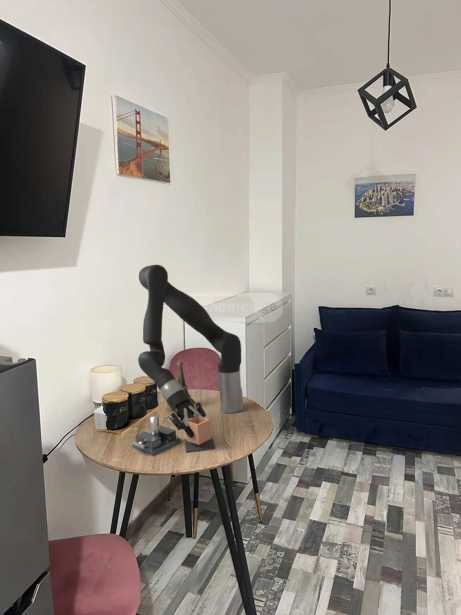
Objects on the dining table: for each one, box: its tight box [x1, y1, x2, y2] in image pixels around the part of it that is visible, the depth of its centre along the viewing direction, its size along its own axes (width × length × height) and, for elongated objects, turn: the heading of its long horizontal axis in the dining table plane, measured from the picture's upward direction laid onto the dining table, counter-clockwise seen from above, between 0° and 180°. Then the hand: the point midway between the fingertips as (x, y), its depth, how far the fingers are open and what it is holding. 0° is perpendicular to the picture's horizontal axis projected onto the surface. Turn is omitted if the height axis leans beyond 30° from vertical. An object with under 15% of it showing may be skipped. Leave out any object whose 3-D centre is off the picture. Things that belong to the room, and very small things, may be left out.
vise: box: [131, 414, 181, 457], centre depth 162 cm, size 15×11×10 cm
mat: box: [184, 435, 216, 454], centre depth 161 cm, size 10×10×1 cm
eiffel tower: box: [166, 355, 198, 413], centre depth 197 cm, size 11×11×25 cm
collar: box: [185, 417, 212, 445], centre depth 160 cm, size 6×6×7 cm
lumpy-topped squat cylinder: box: [93, 404, 107, 430], centre depth 184 cm, size 10×13×9 cm
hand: (199, 433), depth 160 cm, fingers closed on collar, 6 cm apart
